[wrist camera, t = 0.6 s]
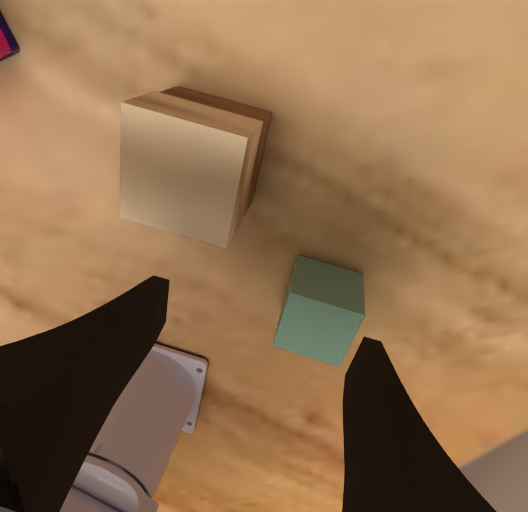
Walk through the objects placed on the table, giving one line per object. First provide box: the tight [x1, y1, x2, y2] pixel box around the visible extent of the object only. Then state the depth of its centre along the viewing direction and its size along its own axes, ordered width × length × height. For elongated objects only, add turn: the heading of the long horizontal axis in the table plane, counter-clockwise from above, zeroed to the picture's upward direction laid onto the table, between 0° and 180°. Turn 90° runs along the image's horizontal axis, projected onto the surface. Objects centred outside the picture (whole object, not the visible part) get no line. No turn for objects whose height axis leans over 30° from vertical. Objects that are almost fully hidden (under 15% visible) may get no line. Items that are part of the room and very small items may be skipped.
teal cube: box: [272, 255, 365, 367], centre depth 22 cm, size 4×4×4 cm
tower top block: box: [120, 91, 263, 249], centre depth 17 cm, size 5×5×3 cm
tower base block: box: [160, 86, 272, 217], centre depth 19 cm, size 5×5×3 cm
